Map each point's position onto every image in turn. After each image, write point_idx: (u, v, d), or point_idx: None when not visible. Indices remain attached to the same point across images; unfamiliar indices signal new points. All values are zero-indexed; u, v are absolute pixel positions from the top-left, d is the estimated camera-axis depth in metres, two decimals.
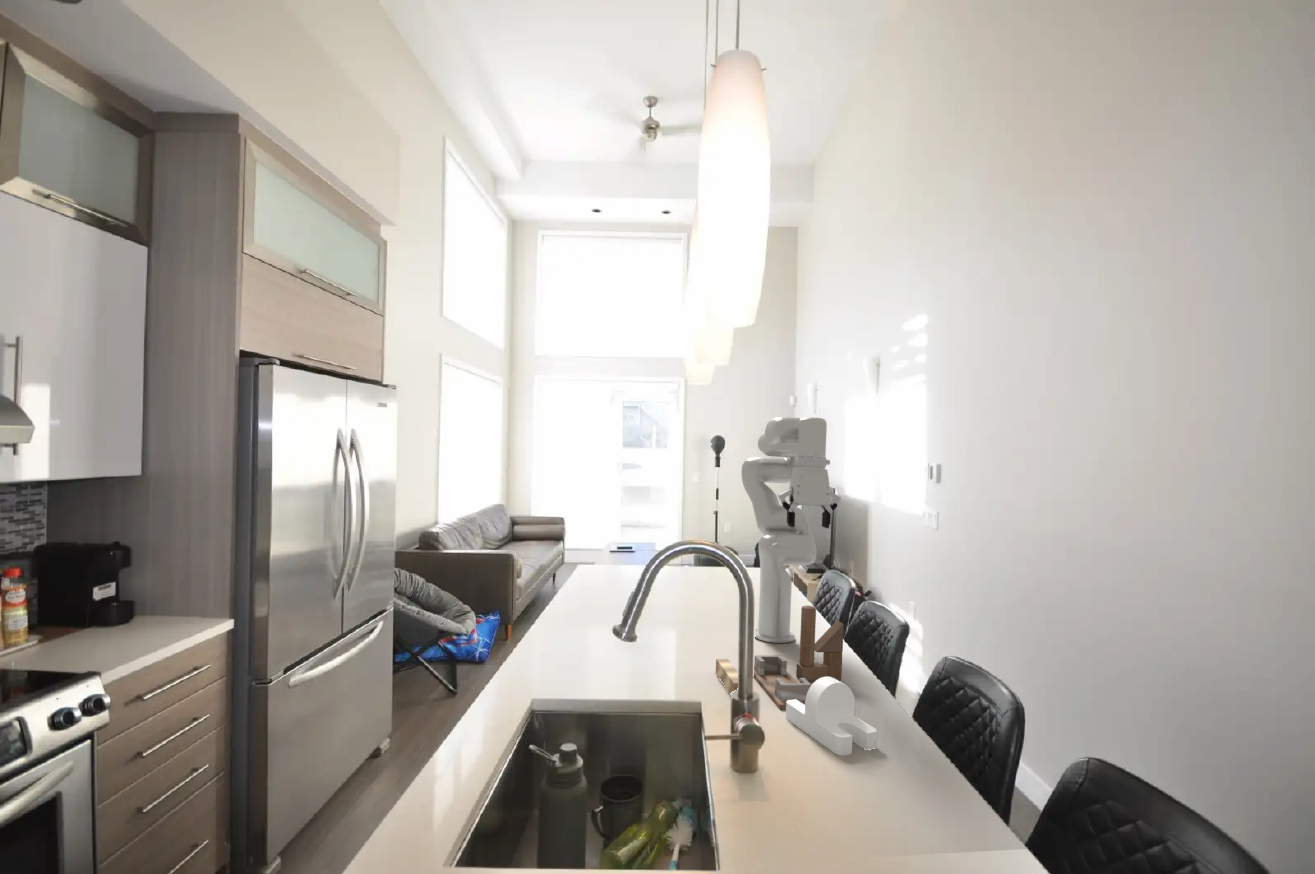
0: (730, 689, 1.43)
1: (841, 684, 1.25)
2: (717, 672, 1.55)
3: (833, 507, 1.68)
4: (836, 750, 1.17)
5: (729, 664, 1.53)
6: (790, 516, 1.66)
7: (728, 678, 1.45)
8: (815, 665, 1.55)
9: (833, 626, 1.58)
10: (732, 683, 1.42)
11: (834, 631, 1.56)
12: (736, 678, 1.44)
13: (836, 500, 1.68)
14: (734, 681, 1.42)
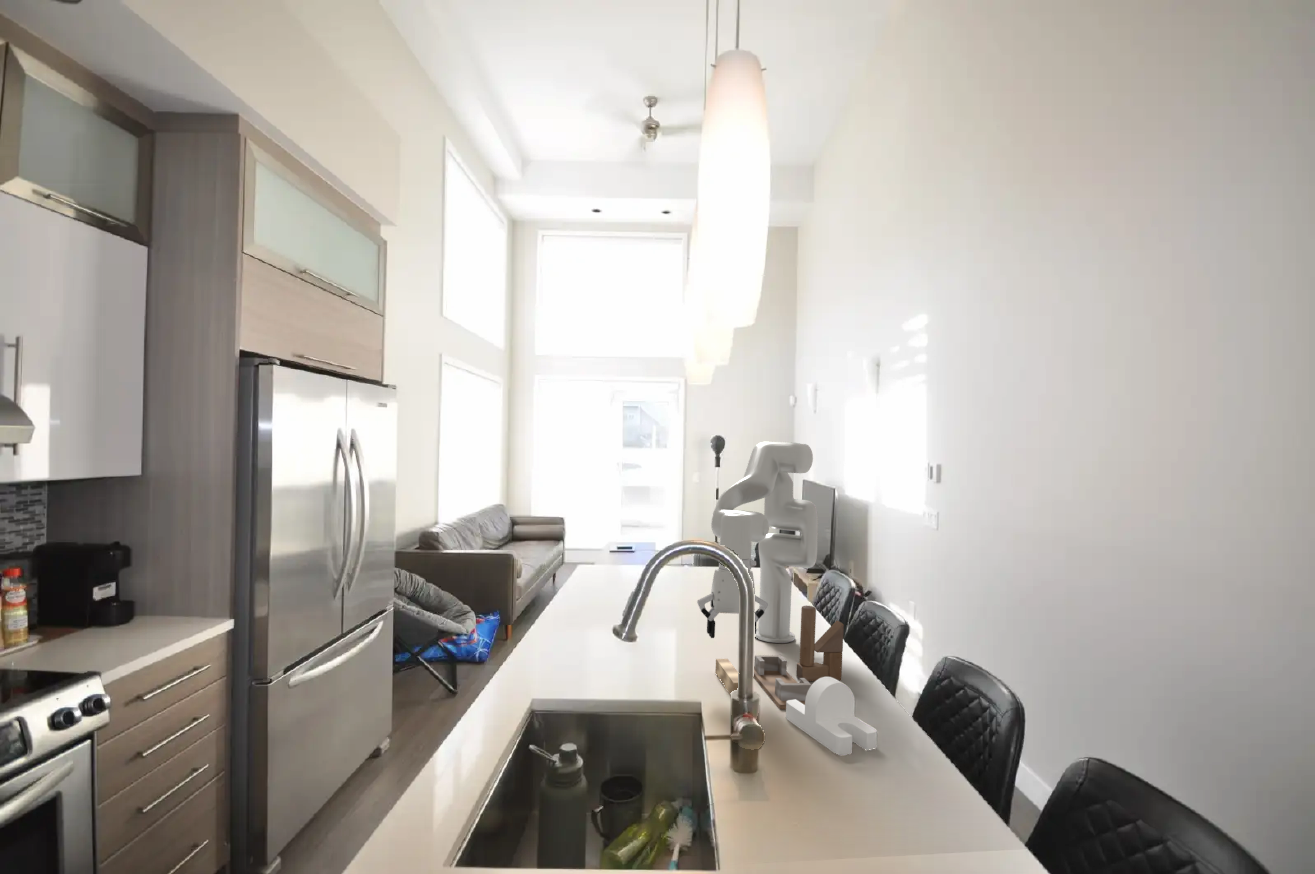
0: (730, 689, 1.43)
1: (841, 684, 1.25)
2: (717, 672, 1.55)
3: (759, 614, 1.49)
4: (835, 750, 1.17)
5: (729, 664, 1.53)
6: (710, 625, 1.47)
7: (728, 678, 1.45)
8: (815, 665, 1.55)
9: (833, 626, 1.58)
10: (732, 683, 1.42)
11: (834, 631, 1.56)
12: (736, 678, 1.44)
13: (763, 606, 1.50)
14: (734, 681, 1.42)
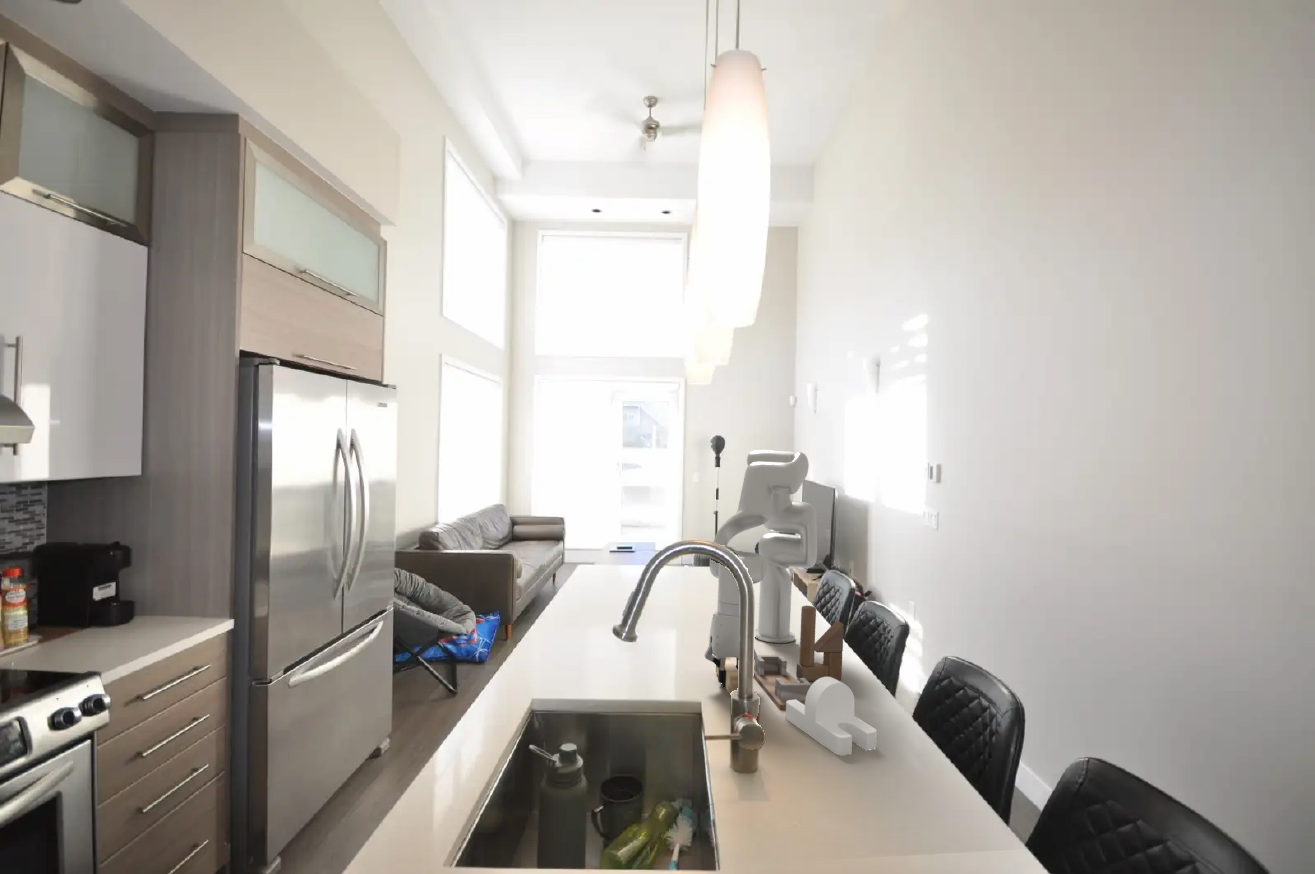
0: (730, 688, 1.44)
1: (841, 684, 1.25)
2: (717, 669, 1.55)
3: None
4: (835, 750, 1.17)
5: (729, 662, 1.53)
6: (721, 675, 1.48)
7: (728, 677, 1.45)
8: (815, 665, 1.55)
9: (833, 626, 1.58)
10: (732, 682, 1.42)
11: (834, 631, 1.56)
12: (736, 677, 1.44)
13: None
14: (733, 680, 1.42)
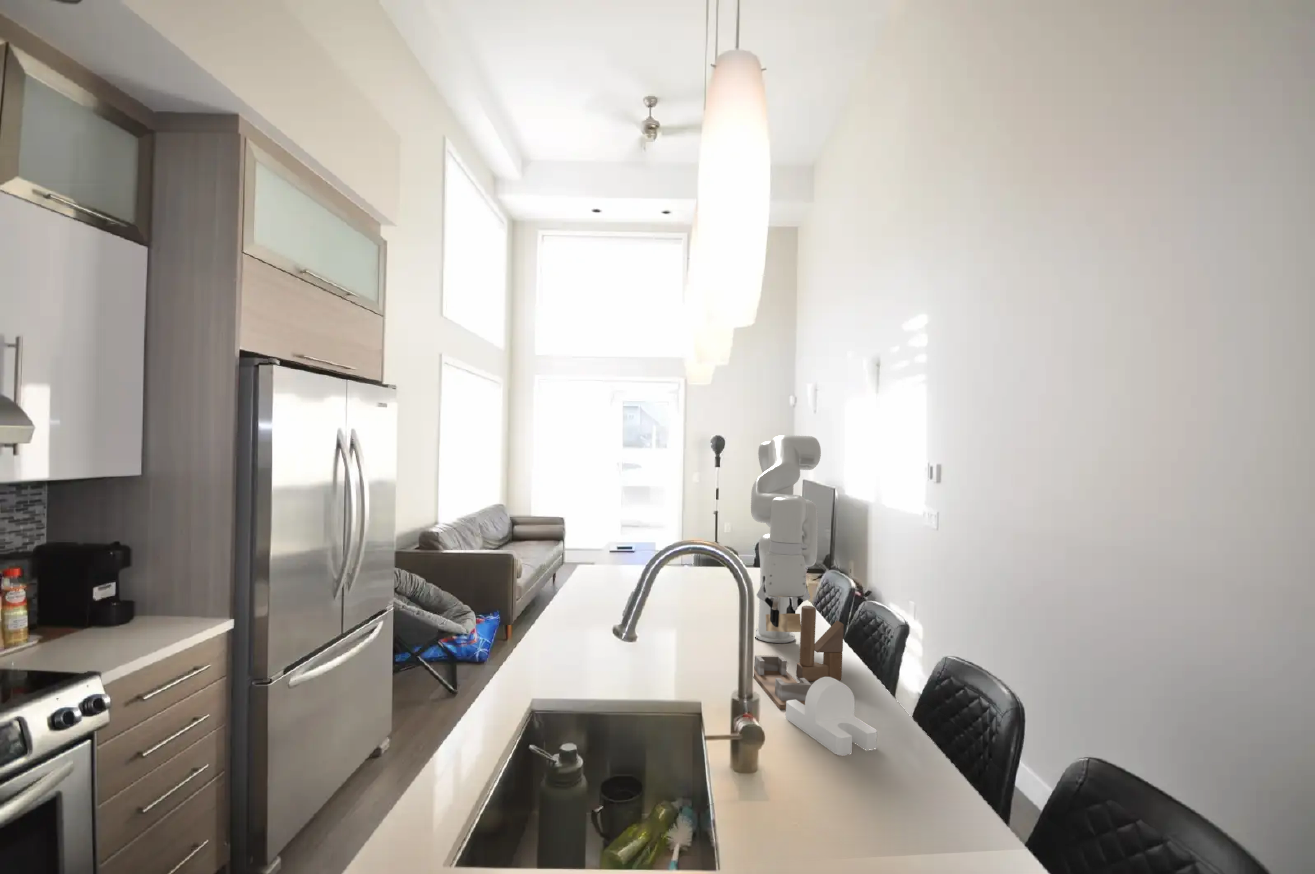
0: (784, 624, 1.44)
1: (841, 684, 1.25)
2: (768, 626, 1.55)
3: (798, 603, 1.49)
4: (835, 750, 1.17)
5: None
6: (774, 614, 1.48)
7: (781, 616, 1.46)
8: (815, 665, 1.55)
9: (833, 626, 1.58)
10: (786, 615, 1.43)
11: (834, 631, 1.56)
12: None
13: (804, 597, 1.50)
14: None
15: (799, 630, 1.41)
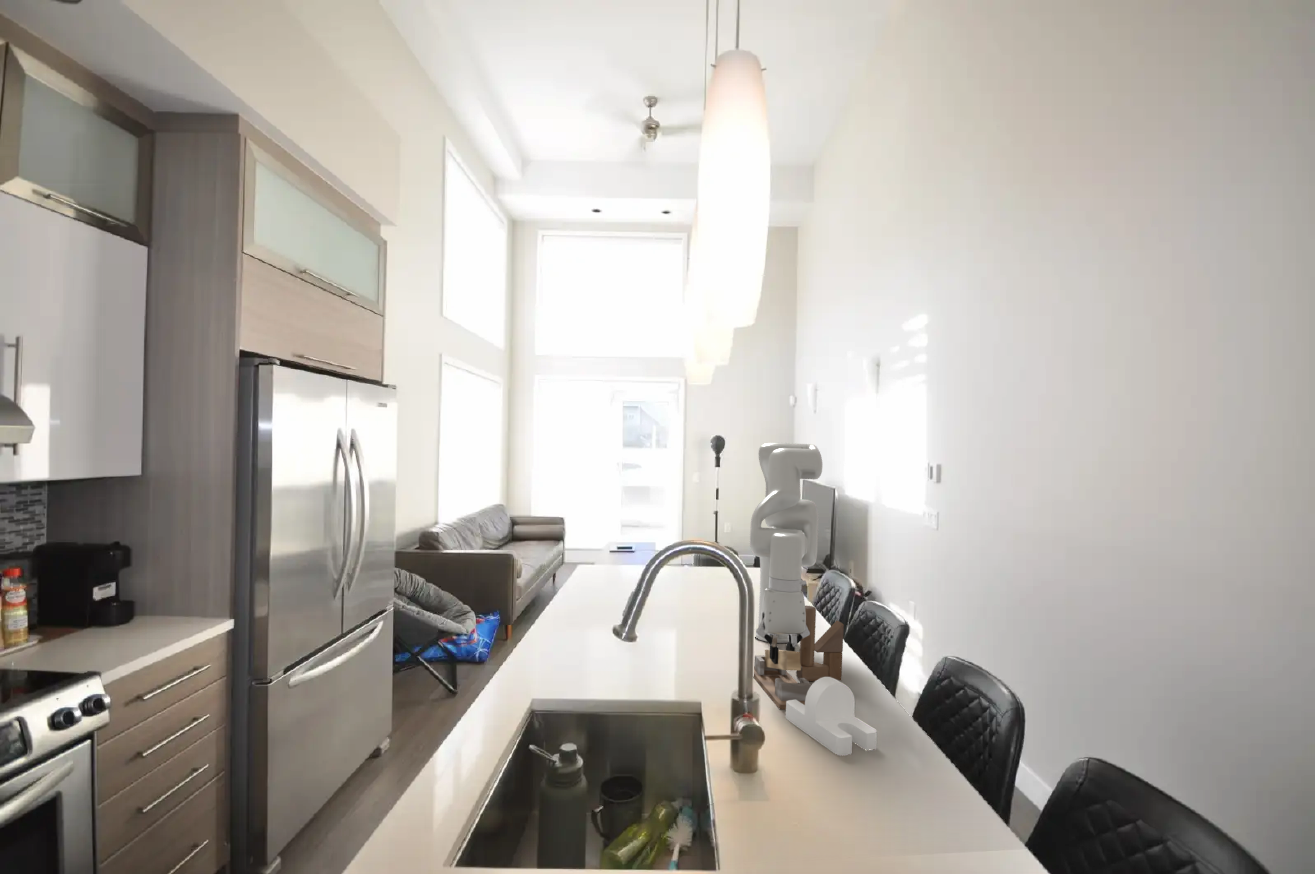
0: (784, 662, 1.43)
1: (841, 684, 1.25)
2: (767, 661, 1.54)
3: (798, 640, 1.49)
4: (835, 750, 1.17)
5: None
6: (773, 651, 1.48)
7: (781, 653, 1.45)
8: (815, 665, 1.55)
9: (833, 626, 1.58)
10: (786, 653, 1.42)
11: (834, 631, 1.56)
12: (789, 651, 1.44)
13: (804, 633, 1.49)
14: (787, 651, 1.43)
15: (799, 668, 1.41)
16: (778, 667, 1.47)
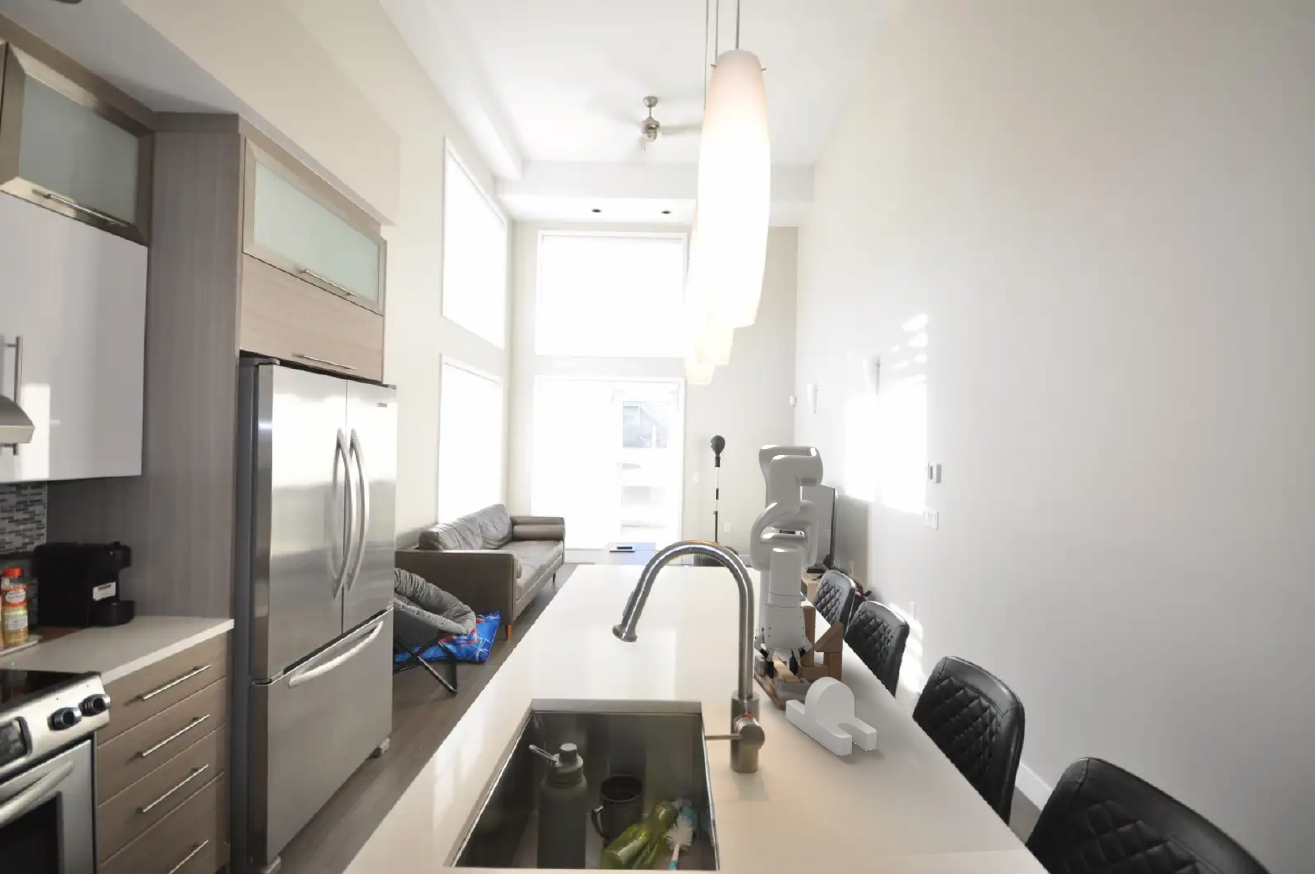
0: None
1: (841, 684, 1.25)
2: None
3: (801, 654, 1.49)
4: (835, 750, 1.17)
5: (779, 662, 1.52)
6: (769, 666, 1.48)
7: (780, 676, 1.44)
8: (815, 665, 1.55)
9: (833, 626, 1.58)
10: (785, 681, 1.41)
11: (834, 631, 1.56)
12: (789, 676, 1.43)
13: (806, 647, 1.49)
14: (787, 679, 1.41)
15: None
16: None
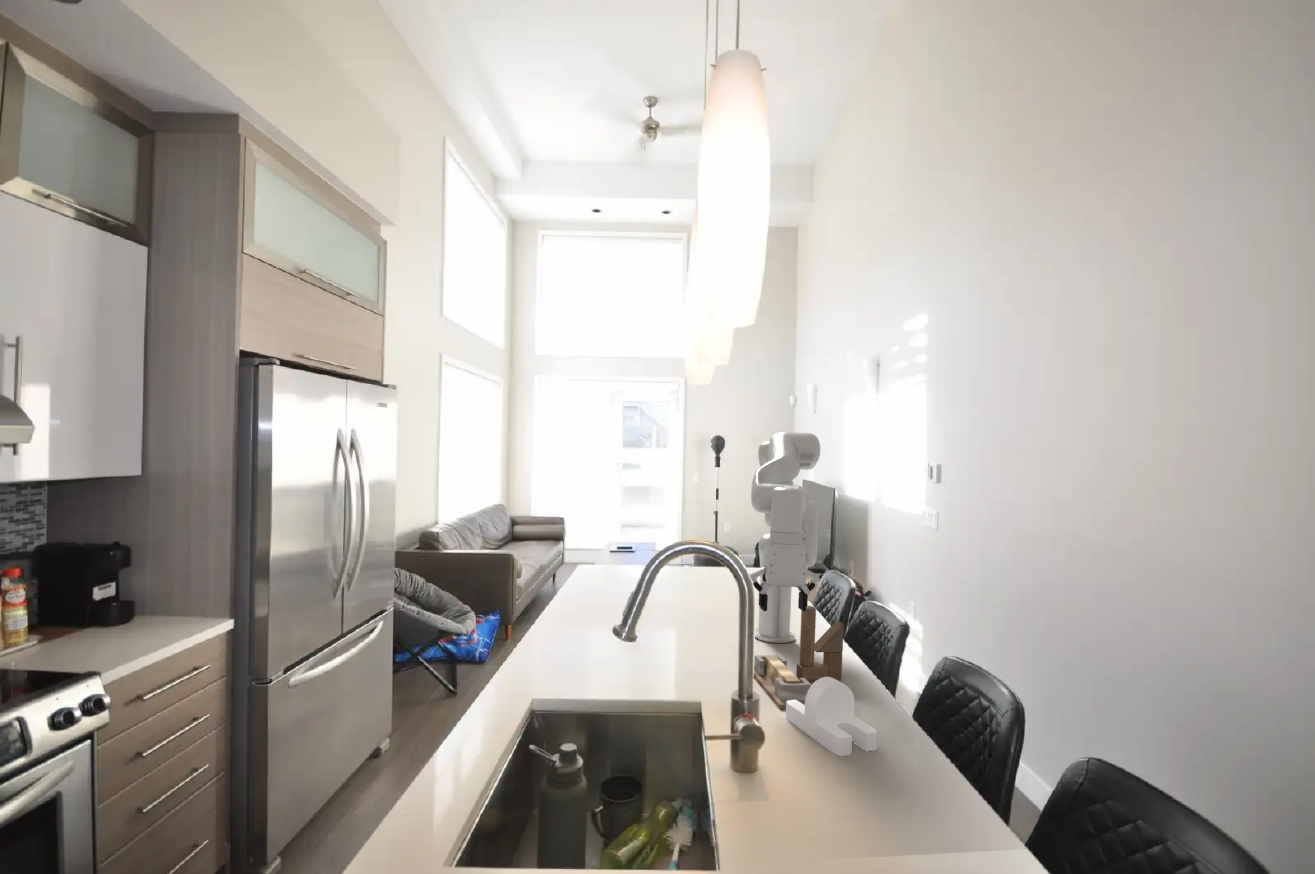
0: None
1: (841, 684, 1.25)
2: (767, 670, 1.54)
3: (810, 587, 1.50)
4: (835, 750, 1.17)
5: (779, 662, 1.52)
6: (762, 598, 1.48)
7: (780, 676, 1.44)
8: (815, 665, 1.55)
9: (833, 626, 1.58)
10: (785, 681, 1.41)
11: (834, 631, 1.56)
12: (789, 676, 1.43)
13: (814, 579, 1.50)
14: (787, 679, 1.41)
15: None
16: None
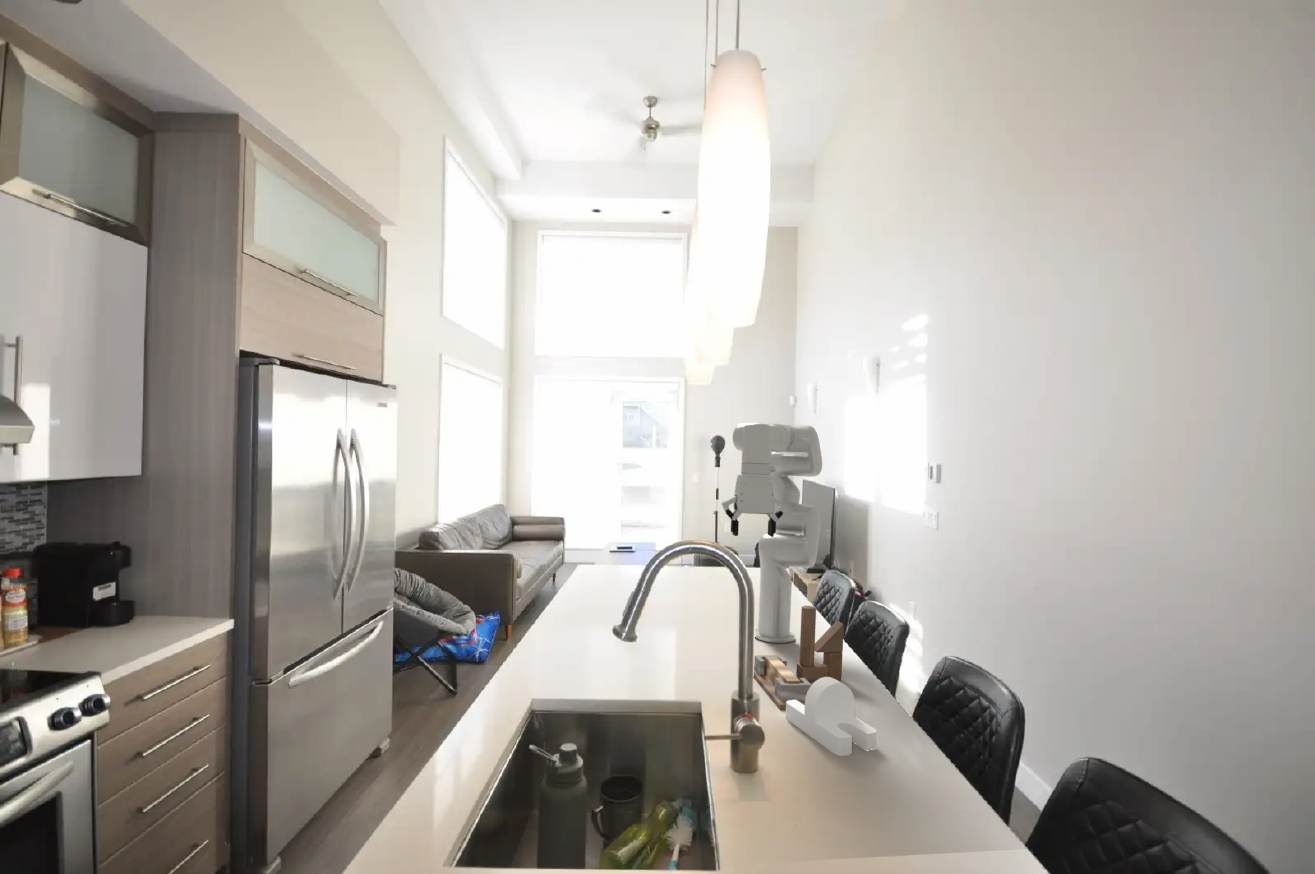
0: None
1: (841, 684, 1.25)
2: (767, 670, 1.54)
3: (778, 515, 1.63)
4: (835, 750, 1.17)
5: (779, 662, 1.52)
6: (734, 524, 1.61)
7: (780, 676, 1.44)
8: (815, 665, 1.55)
9: (833, 626, 1.58)
10: (785, 681, 1.41)
11: (834, 631, 1.56)
12: (789, 676, 1.43)
13: (782, 508, 1.64)
14: (787, 679, 1.41)
15: None
16: None
